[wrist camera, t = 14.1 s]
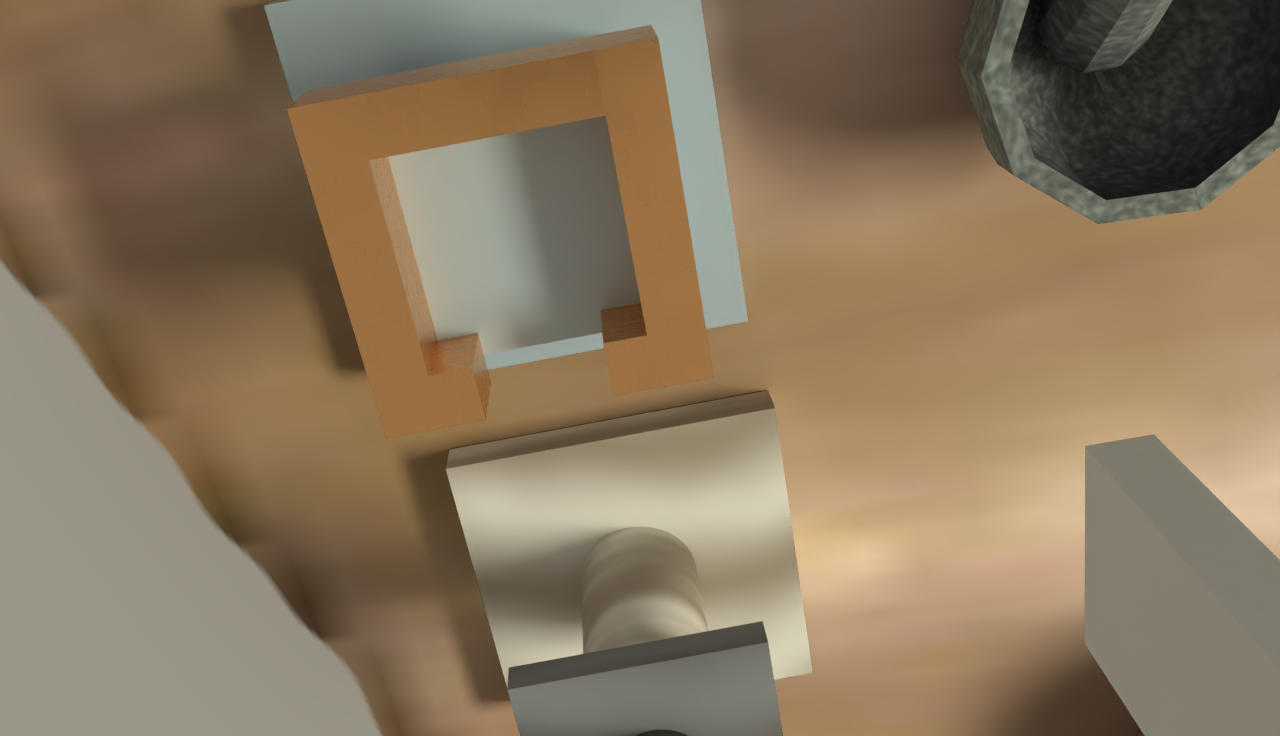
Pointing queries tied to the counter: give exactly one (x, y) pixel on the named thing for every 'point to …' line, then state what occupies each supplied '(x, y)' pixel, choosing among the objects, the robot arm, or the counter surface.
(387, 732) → the counter surface
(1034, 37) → the mortar and pestle
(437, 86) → the link
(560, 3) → the block
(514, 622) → the post stand
